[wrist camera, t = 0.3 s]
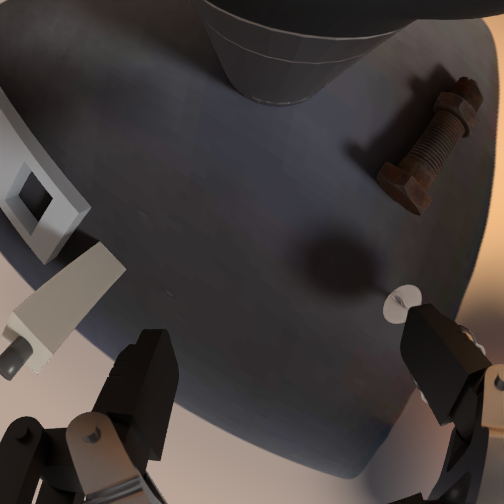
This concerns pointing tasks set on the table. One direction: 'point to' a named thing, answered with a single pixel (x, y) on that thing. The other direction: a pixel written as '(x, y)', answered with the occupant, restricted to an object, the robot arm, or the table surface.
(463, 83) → the bolt
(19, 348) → the plug
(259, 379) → the table surface
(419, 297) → the wineglass
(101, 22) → the table surface
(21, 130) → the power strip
